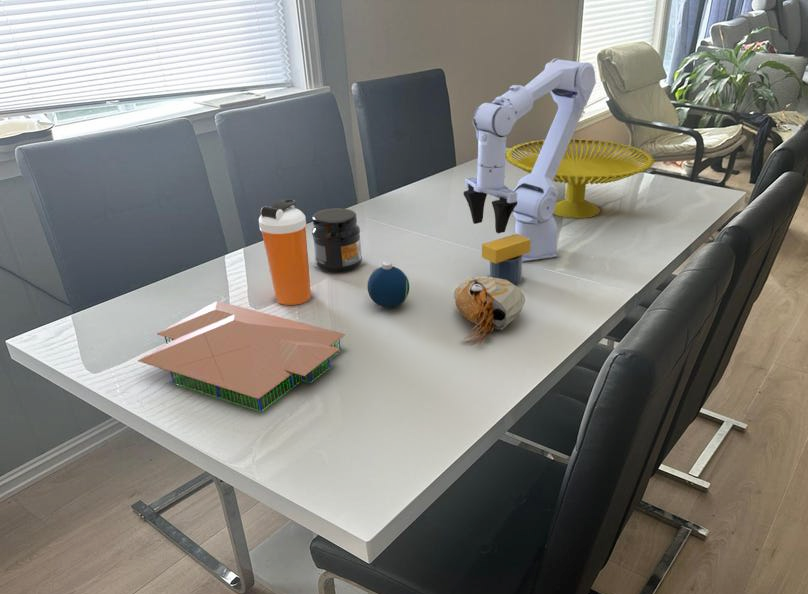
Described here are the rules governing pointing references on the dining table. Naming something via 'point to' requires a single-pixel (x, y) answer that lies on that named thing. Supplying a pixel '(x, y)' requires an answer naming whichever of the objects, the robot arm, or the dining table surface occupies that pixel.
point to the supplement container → (336, 240)
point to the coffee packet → (505, 248)
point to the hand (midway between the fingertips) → (488, 227)
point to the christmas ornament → (388, 286)
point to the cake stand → (583, 171)
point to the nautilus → (488, 303)
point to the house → (243, 351)
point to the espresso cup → (507, 270)
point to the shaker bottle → (286, 251)
